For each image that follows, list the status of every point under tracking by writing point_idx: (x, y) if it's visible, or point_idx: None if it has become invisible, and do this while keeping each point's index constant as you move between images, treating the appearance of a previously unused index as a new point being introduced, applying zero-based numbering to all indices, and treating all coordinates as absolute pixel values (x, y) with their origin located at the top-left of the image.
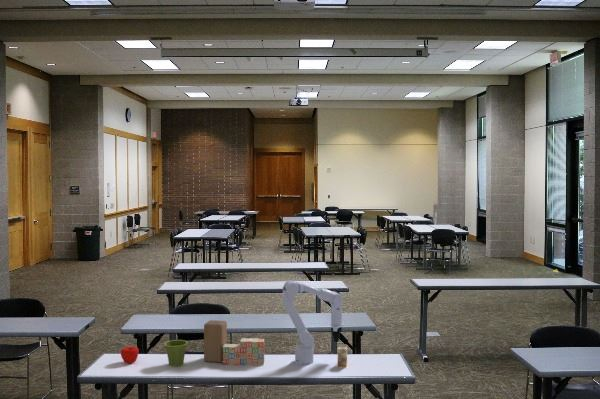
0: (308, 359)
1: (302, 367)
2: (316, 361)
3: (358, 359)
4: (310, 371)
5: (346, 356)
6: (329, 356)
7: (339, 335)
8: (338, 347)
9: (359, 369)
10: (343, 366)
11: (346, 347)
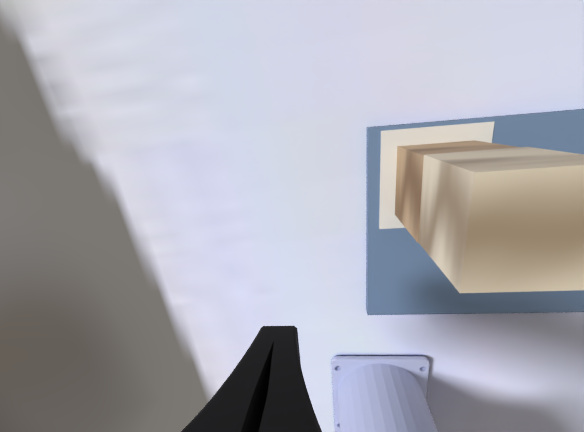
0: (428, 409)
1: (462, 397)
2: (330, 346)
3: (199, 77)
4: (543, 353)
5: (544, 149)
6: (205, 292)
7: (253, 395)
8: (503, 289)
9: (487, 14)
10: None
11: (502, 181)
